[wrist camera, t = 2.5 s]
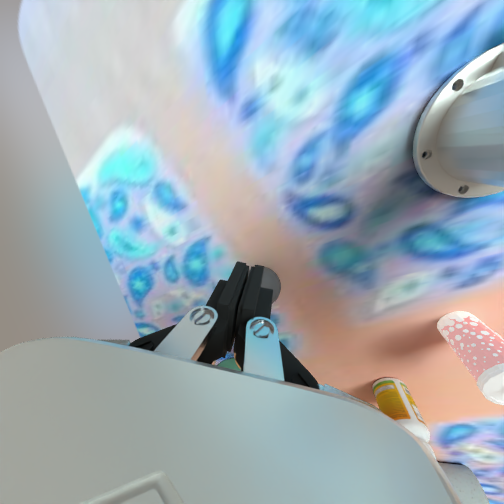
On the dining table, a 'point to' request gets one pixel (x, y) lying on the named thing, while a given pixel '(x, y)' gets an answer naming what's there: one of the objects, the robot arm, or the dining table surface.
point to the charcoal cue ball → (271, 282)
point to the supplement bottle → (401, 407)
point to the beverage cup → (477, 351)
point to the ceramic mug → (465, 484)
